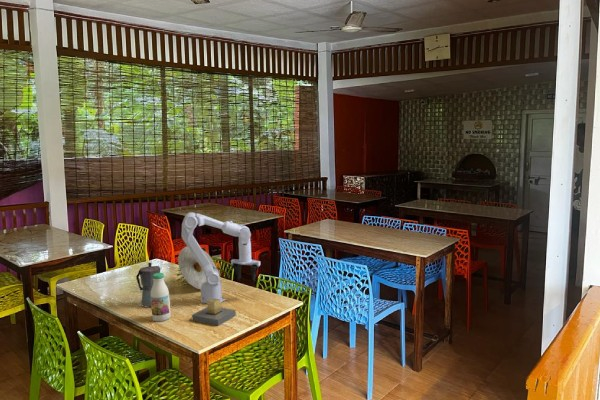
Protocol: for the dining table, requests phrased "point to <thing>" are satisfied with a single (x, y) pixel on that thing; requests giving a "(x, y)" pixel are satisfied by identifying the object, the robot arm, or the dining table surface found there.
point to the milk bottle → (160, 299)
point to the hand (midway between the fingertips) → (246, 279)
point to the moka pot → (147, 282)
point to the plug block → (213, 306)
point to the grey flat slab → (214, 320)
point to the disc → (191, 268)
